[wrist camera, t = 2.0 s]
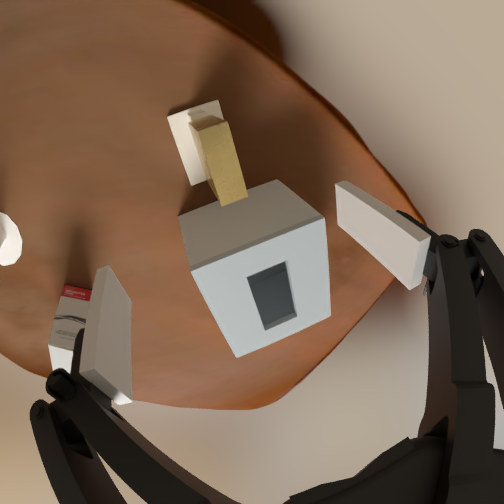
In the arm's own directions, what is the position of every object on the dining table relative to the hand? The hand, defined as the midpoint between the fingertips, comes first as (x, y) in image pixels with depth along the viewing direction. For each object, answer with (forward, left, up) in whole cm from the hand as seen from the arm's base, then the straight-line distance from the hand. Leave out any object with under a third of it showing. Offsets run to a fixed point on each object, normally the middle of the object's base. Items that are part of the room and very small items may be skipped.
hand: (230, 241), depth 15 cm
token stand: (-1, +2, -21) cm, 21 cm away
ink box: (+14, -25, -21) cm, 35 cm away
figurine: (-2, -30, -21) cm, 36 cm away
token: (-1, +2, -17) cm, 17 cm away
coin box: (+15, +3, -21) cm, 26 cm away
